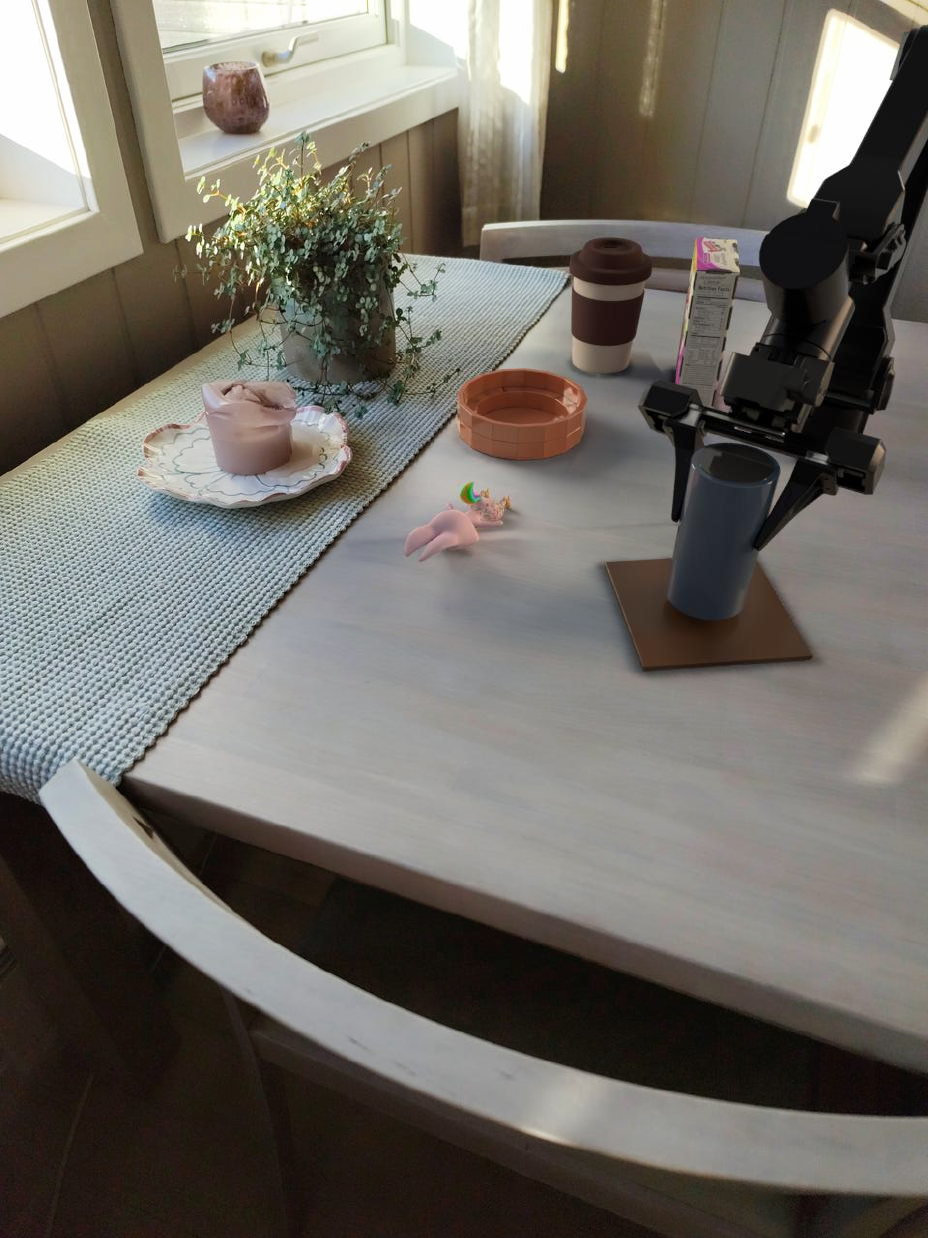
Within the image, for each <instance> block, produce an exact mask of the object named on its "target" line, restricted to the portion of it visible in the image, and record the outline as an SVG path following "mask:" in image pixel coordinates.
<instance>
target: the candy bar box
mask: <svg viewBox="0 0 928 1238" xmlns="http://www.w3.org/2000/svg"><path fill="white" fill-rule="evenodd" d="M738 247H739V246H738V240H737V239H733V238H732V239H730V238H720V237H711V238H710V237H705V236H703V237H695V242H694V249H693V254H692V261H691V266H690V272H689V273H690V274H689V280H688V286H687V292H686V299H685V305H684V311H683V318H682V324H681V331H680V337H679V345H678V350H677V351H678V352H677V357H676V358H677V359H676V365H675V382H674V383H675V384H679V385H682V386H686V387H690V388H694V389H697V391H698V394H699V396H700V399H701V401H702V404H703V406H706V407H709V408H713V409H715V403H716V398H717V394H718V387H719V384H720V383H719V382H720V377H721V372H722V367H723V362H724V357H725V350H726V345H727V341H728V336H729V329H730V326H731V318H732V314H733V311H734V309H733V308H734V303H735V298H736V292H737V287H738V282H739V278H740V273H741V272H740V259H739V258H740V257H739V248H738Z"/></svg>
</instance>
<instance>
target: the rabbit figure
mask: <svg viewBox="0 0 928 1238" xmlns="http://www.w3.org/2000/svg"><path fill="white" fill-rule="evenodd" d="M474 484H475V482H474V481H473V482H472V481H471V482H468V483H466V484H465V485H464V486H463V487H462V489H461V491H460V493H459V497H460V499H461V501H462V502H463V503H464V504H466V509H467V510H466V511H465V512H463V511H460V510H457V509H455V508H454V505H453V504H452V503H451V502H448V503H447V504H446V508H447V510H444V511H443V510H442V511H441V512H439V513H438V514H436V515H434V516H433V518H431V520H430V522H429V523H428V524H426V525H420V526H418V527H416V528H414V529H413V530H412V531H411V532H409V534H408V535H407V537H406V539H405V542H404V543H405V544H404V556H405V557H410V556H411V555H413V554H414V553H415V552H416V551H418V550H420V549H422V547H424V546H425V548H424V549H423V551H422V553H421V554H420V556H419V558H418V560H417V561H418V562H419V563H420V562H421V563H422V562H424V561H426V560H429V559H430V558H431V557H432V556H434V555H436V554H438V553H439V552H441V551H445V550H446V551H449V552H450V551H452V552H453V551H458V550H462V549H464V548H468V547H471V546H473V545H475V544H477V543H478V542H479V539H480V538H479V537H480V536H479V533H478V531H477V528H493V527H501V526H503V524H504V523H503V521H502V520H501V519H502V517H503V516H504V513H505V508H506V509H510V510H511V509H512V508H511V507H512V505H511V504H512V503H511V499H510V496H511V495H510V494H511V493H509V494H508V496H507V497H505V496H504V497H502V498H501V499H500V500H497V501H496V500H494V499H493V498H490V492H489V489H490V486H488V487H487V488H486V491H485V490H484V489H482V490H480V493H479V492H478V491H476V490H474Z"/></svg>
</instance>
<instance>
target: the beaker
mask: <svg viewBox="0 0 928 1238" xmlns="http://www.w3.org/2000/svg"><path fill="white" fill-rule="evenodd" d="M780 476H781V465H780V463H779V461H778V460H776V459H775V457H774V456H772V454H770V453H768V452H766V451H765V450H762V449H761V448H759V447H756V446H752V445H749V444H745V443H739V442H738V443H737V442H715V443H709V444H707V445H706V444H705V446H703V447H701V448H699V449H698V450H696V451H695V453H694V454H693V455H692V458H691V462H690V468H689V473H688V478H687V483H686V489H685V494H684V499H683V504H682V509H681V515H680V520H679V521H678V525H677V531H676V536H675V541H674V545H673V551H672V557H671V558H672V561H671V567H670V572H669V577H668V582H667V588H666V594H667V597H668V599H669V601H670V602H671V604H672V605H673V606H674V607H675V608H676V609H678V610H679V611H681V612H682V613H684V614H686V615H688V616H691V617H694V618H697V619H702V620H713V621H714V620H724V619H728V618H731V617H733V616H735V615H737V614H738V613H739V612H740V611H741V610H742V609H743V607H744V605H745V601H746V598H747V594H748V590H749V587H750V583H751V579H752V576H753V572H754V568H755V565H756V561H758V557H759V553H760V551H757V550H755V548H754V546H755V544H756V541H757V539H758V536H759V534H760V531H761V529H762V527H763V525H764V523H765V522H766V520H767V518H768V516H769V515H770V513H771V510H772V506H773V502H774V498H775V494H776V491H777V488H778V483H779V480H780Z"/></svg>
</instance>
